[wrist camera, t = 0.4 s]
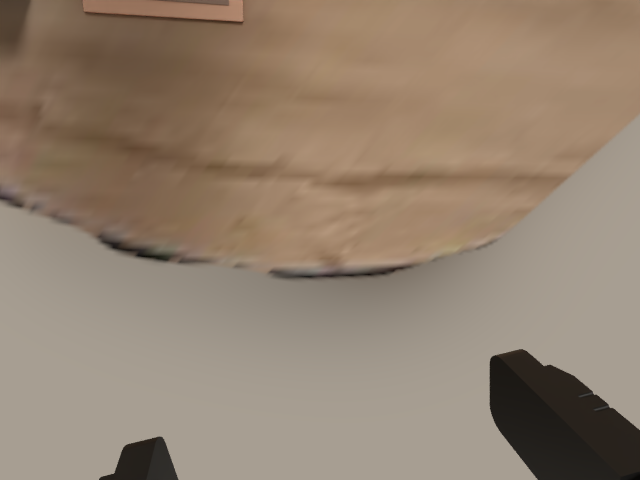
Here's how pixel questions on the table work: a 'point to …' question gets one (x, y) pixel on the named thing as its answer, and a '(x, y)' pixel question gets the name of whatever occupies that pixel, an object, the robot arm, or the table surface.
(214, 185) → the table surface
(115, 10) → the pad
